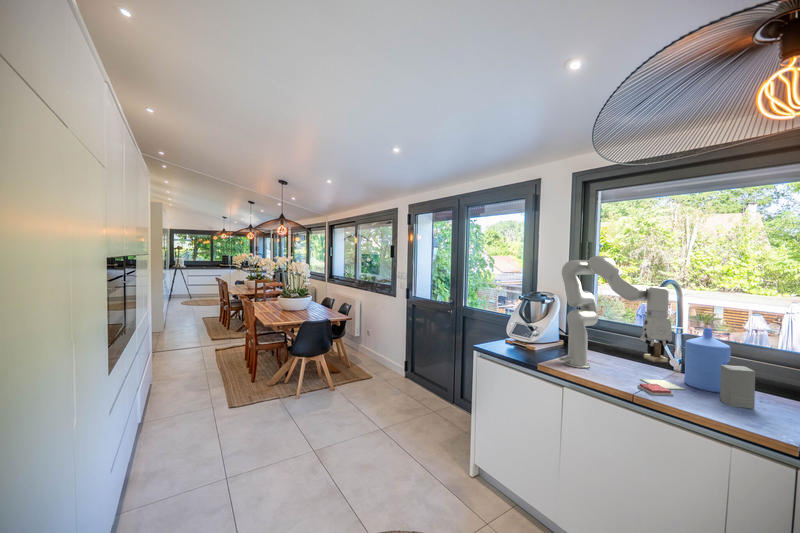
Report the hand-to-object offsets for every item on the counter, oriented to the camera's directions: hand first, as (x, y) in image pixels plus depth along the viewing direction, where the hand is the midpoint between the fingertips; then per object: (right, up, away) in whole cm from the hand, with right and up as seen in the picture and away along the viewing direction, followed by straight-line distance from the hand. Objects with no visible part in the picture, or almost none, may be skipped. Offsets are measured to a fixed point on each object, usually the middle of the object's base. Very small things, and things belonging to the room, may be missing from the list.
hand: (655, 353), depth 144 cm
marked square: (+10, -17, +9) cm, 22 cm away
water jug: (+30, -18, +7) cm, 36 cm away
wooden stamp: (0, -3, 0) cm, 3 cm away
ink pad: (0, -17, 0) cm, 17 cm away
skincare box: (+23, -18, -13) cm, 32 cm away
